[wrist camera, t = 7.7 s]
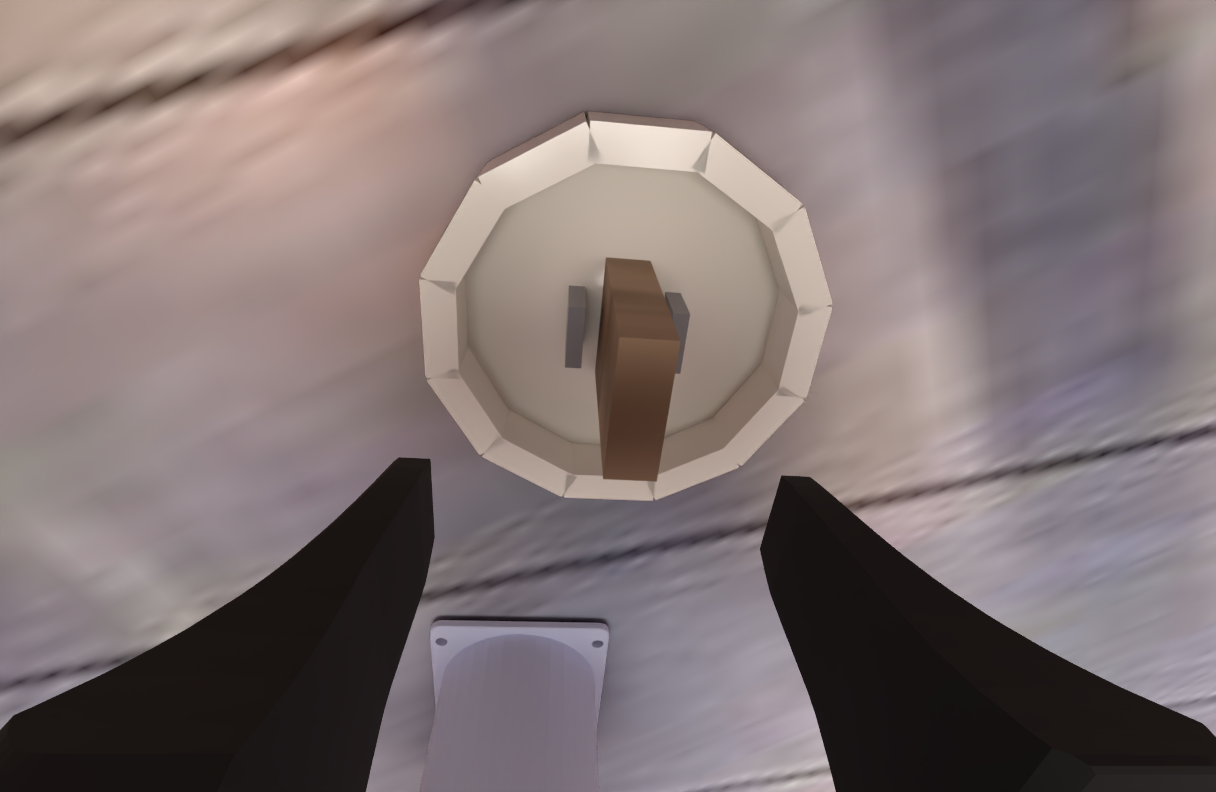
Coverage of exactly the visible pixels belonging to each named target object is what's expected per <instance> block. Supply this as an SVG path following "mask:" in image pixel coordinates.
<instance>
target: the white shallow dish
mask: <svg viewBox="0 0 1216 792" xmlns="http://www.w3.org/2000/svg"><path fill="white" fill-rule="evenodd" d="M606 257H609V258H622V259H635V260H647V261H651V263H652V266H653V269H654V271H655V274H656V277H657V279H658V282H659V285H660V287H661V290H662V293H663V295H664V298H665V301H666V303H667V306H668V309H669V311H670V314H671V317H672V319H673V322H674V325H675V327H676V330H677V333H678V335H679V338H680V341H681V342H680V348H679V354H678V359H677V365H676V371H675V377H674V383H673V389H672V395H671V401H670V407H669V413H668V418H667V424H666V430H665V436H664V442H663V448H662V454H661V460H660V466H659V471H658V477H657V482H655V481H633V480H610V479H603V472H602V459H601V445H600V432H599V419H598V406H597V392H596V379H595V365H596V355H597V345H598V334H599V324H600V314H601V303H602V293H603V283H604V272H605V262H606ZM420 276H421V277H420V279H419V286H420V302H421V317H422V332H423V347H424V363H425V378H428V379H427V382H428V383H429V385H430V386H431V387H432V389H433V390H434V392H435V393H436V395H437V396H438V397H439V399H440V400H441V402H442V403H443V404H444V406H445V407H446V409H447V410H448V411H449V413H450V414H451V416H452V417H453V418H454V420H455V421H456V423H457V424H458V425H459V427H460V428H461V430H462V431H463V432H464V434H465V435H466V437H467V438H468V440H469V441H470V442H471V444H472V445H473V447H474V448H475V449H476V451H477V452H478V454H479V455H481V454H482V457H483V458H485V459H487V460H489V461H491V462H493V463H495V464H497V465H499V466H501V467H503V468H505V469H507V470H509V471H511V472H513V473H515V474H517V475H519V476H521V477H523V478H525V479H527V480H529V481H531V482H533V483H535V484H537V485H539V486H541V487H543V488H544V489H546V490H548V491H550V492H552V493H554V494H556V495H558V496H560V497H561V496H562V495H563V494H564V498H588V499H616V500H644V501H653V496H654V498H655V500H658V499H660V498H663V497H665V496H668V495H670V494H673V493H676V492H678V491H681V490H683V489H686V488H688V487H691V486H693V485H696V484H698V483H701V482H704V481H706V480H709V479H711V478H714V477H716V476H719V475H721V474H724V473H727V472H729V471H732V470H734V469H737V468H739V466H738V464H739V465H741V466H742V465H743V464H744V463H745V462H746V461H747V460H748V459H749V458H750V457H751V456H752V455H753V454H754V453H755V452H756V450H757V449H758V448H759V447H760V446H761V445H762V444H763V443H764V442H765V441H766V440H767V439H768V438H769V437H770V436H771V435H772V434H773V433H774V432H775V431H776V430H777V429H778V428H779V427H780V426H781V425H782V424H783V423H784V422H785V420H786V419H787V418H788V417H789V416H790V415H791V414H792V413H793V412H794V411H795V410H796V409H797V408H798V407H799V406H800V405H801V404H802V403H803V402H804V401H805V400H804V398H803V397H806V398H807V395H808V391H809V388H810V384H811V381H812V377H813V374H814V370H815V367H816V363H817V360H818V356H819V353H820V350H821V346H822V343H823V339H824V336H825V332H826V329H827V325H828V322H829V318H830V315H831V311H832V308H833V307H832V306H831V304H833V303H832V299H831V296H830V292H829V289H828V285H827V282H826V279H825V275H824V272H823V268H822V265H821V261H820V258H819V254H818V251H817V248H816V244H815V241H814V237H813V234H812V230H811V227H810V223H809V220H808V217H807V213H806V210H805V207H804V206H802V203H801V202H800V201H798V200H797V199H796V198H795V197H794V196H792V195H791V194H790V193H789V192H787V191H786V190H785V189H784V188H783V187H781V186H780V185H779V184H778V183H776V182H775V181H774V180H773V179H771V178H770V177H769V176H768V175H767V174H765V173H764V172H763V171H762V170H760V169H759V168H758V167H757V166H755V165H754V164H753V163H752V162H751V161H749V160H748V159H747V158H746V157H744V156H743V155H742V154H741V153H739V152H738V151H737V150H736V149H735V148H733V147H732V146H731V145H730V144H728V143H727V142H726V141H725V140H724V139H722V138H721V137H720V136H719V135H717V134H716V133H715V132H713V131H711V130H710V129H708V128H706V127H704V126H703V125H701V124H699V123H697V122H695V121H687V120H676V119H666V118H655V117H644V116H634V115H623V114H612V113H602V112H591V111H588V115H587V118H586V116H585V113H584V112H583V113H581V114H579V115H577V116H575V117H573V118H571V119H569V120H567V121H565V122H564V123H562V124H560V125H558V126H556V127H554V128H552V129H550V130H548V131H546V132H544V133H542V134H540V135H539V136H537V137H535V138H533V139H531V140H529V141H527V142H525V143H523V144H521V145H519V146H517V147H515V148H513V149H512V150H510V151H508V152H506V153H504V154H502V155H500V156H498V157H496V158H494V159H492V160H490V161H489V162H488V163H487V164H486V165H485V166H484V168H483V169H482V170H481V172H480V173H479V175H478V176H477V177H476V179H475V180H474V182H473V184H472V186H471V187H470V189H469V191H468V193H467V194H466V196H465V198H464V200H463V201H462V203H461V205H460V207H459V208H458V210H457V212H456V214H455V215H454V217H453V219H452V221H451V222H450V224H449V226H448V228H447V229H446V231H445V233H444V235H443V236H442V238H441V240H440V242H439V243H438V245H437V247H436V249H435V250H434V252H433V254H432V256H431V257H430V259H429V261H428V263H427V264H426V266H425V268H424V270H423V271H422V273H421V275H420ZM737 463H738V464H737Z"/></svg>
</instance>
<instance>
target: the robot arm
mask: <svg viewBox="0 0 1216 792" xmlns="http://www.w3.org/2000/svg"><path fill="white" fill-rule="evenodd" d="M434 538H435V536H434V518H433V499H432V481H431V462H430V459H420V458H398V459H397V460H395V461H394V462H393V463H392V464H391V465H390V466H389V467H388V468H387V469H386V470H385V471H384V472H383V473H382V474H381V475H380V476H379V477H378V478H377V479H376V481H375V482H374V483H373V484H372V485H371V486H370V487H369V488H368V489H367V490H366V491H365V492H364V493H363V494H362V495H361V496H360V497H359V498H358V499H357V500H356V501H355V502H354V503H352V504H351V505H350V506H349V507H348V508H347V509H346V510H345V511H344V512H343V513H342V514H341V515H340V516H339V517H338V518H337V519H336V520H335V521H333V522H332V523H331V524H330V525H329V526H328V527H327V528H326V529H325V530H323V531H322V532H321V533H320V534H319V535H318V536H316V537H315V538H314V539H313V540H312V541H311V542H309V543H308V544H307V545H306V546H305V547H304V548H302V549H301V550H300V551H299V552H298V553H297V554H295V555H294V556H293V557H292V558H290V559H289V560H288V561H287V562H285V563H284V564H283V565H282V566H280V567H279V568H278V569H276V570H275V571H274V572H272V573H271V574H270V575H268V576H267V577H266V578H264V579H263V580H262V581H260V582H259V583H257V584H256V585H255V586H253V587H252V588H250V589H249V590H248V591H246V592H245V593H243V594H242V595H240V596H239V597H237V598H235V599H234V600H232V601H231V602H229V603H227V604H226V605H224V606H223V607H221V608H220V609H218V610H216V611H215V612H213V613H212V614H210V615H208V616H207V617H205V618H204V619H202V620H200V621H199V622H197V623H196V624H194V625H192V626H191V627H189V628H188V629H186V630H184V631H182V632H181V633H179V634H177V635H175V636H174V637H172V638H170V639H168V640H166V641H165V642H163V643H161V644H159V645H158V646H156V647H154V648H152V649H150V650H148V651H146V652H145V653H143V654H141V655H139V656H137V657H135V658H133V659H131V660H129V661H128V662H126V663H124V664H122V665H120V666H118V667H116V668H114V669H112V670H110V671H108V672H106V673H104V674H102V675H100V676H98V677H96V678H94V679H92V680H89V681H87V682H85V683H83V684H81V685H79V686H77V687H74V688H72V689H70V690H68V691H66V692H64V693H62V694H59V695H57V696H55V697H53V698H51V699H49V700H47V701H45V702H42V703H40V704H38V705H36V706H34V707H32V708H29V709H27V710H25V711H22V712H20V713H18V714H16V715H14V716H13V717H12V718H11V719H10V720H9V721H8V722H7V723H6V724H5V725H4V727H3V728H2V729H1V730H0V792H366V788H367V783H368V779H369V774H370V769H371V765H372V760H373V756H374V752H375V747H376V743H377V739H378V734H379V730H380V726H381V721H382V717H383V713H384V709H385V705H386V702H387V699H388V695H389V692H390V688H391V685H392V682H393V679H394V676H395V673H396V670H397V667H398V664H399V661H400V658H401V655H402V652H403V649H404V646H405V643H406V640H407V637H408V634H409V631H410V628H411V625H412V622H413V619H414V616H415V613H416V610H417V607H418V604H419V601H420V598H421V595H422V592H423V589H424V586H425V582H426V578H427V573H428V568H429V563H430V558H431V553H432V548H433V543H434ZM760 551H761V556H762V561H763V565H764V570H765V574H766V578H767V582H768V586H769V590H770V594H771V597H772V599H773V602H774V605H775V607H776V610H777V613H778V615H779V618H780V621H781V623H782V626H783V629H784V631H785V634H786V636H787V639H788V642H789V644H790V647H791V649H792V652H793V655H794V657H795V660H796V662H797V665H798V668H799V670H800V673H801V675H802V678H803V681H804V683H805V686H806V688H807V691H808V694H809V697H810V700H811V703H812V706H813V708H814V711H815V714H816V718H817V721H818V725H819V729H820V732H821V736H822V740H823V743H824V747H825V751H826V754H827V758H828V762H829V765H830V769H831V774H832V778H833V782H834V786H835V790H836V792H1216V737H1215V736H1214V735H1213V734H1212V733H1211V731H1210V730H1209V729H1208V728H1207V727H1206V726H1205V725H1203V724H1202V723H1200V722H1198V721H1196V720H1193V719H1191V718H1189V717H1187V716H1184V715H1182V714H1180V713H1178V712H1175V711H1173V710H1171V709H1168V708H1166V707H1164V706H1162V705H1159V704H1157V703H1155V702H1153V701H1150V700H1148V699H1146V698H1143V697H1141V696H1139V695H1137V694H1134V693H1132V692H1130V691H1128V690H1125V689H1123V688H1121V687H1119V686H1117V685H1115V684H1113V683H1111V682H1109V681H1107V680H1105V679H1103V678H1101V677H1099V676H1097V675H1095V674H1093V673H1091V672H1089V671H1087V670H1085V669H1083V668H1081V667H1079V666H1077V665H1075V664H1073V663H1071V662H1069V661H1067V660H1065V659H1063V658H1061V657H1060V656H1058V655H1056V654H1054V653H1052V652H1050V651H1048V650H1046V649H1045V648H1043V647H1041V646H1039V645H1038V644H1036V643H1034V642H1032V641H1031V640H1029V639H1027V638H1025V637H1024V636H1022V635H1020V634H1018V633H1017V632H1015V631H1013V630H1012V629H1010V628H1008V627H1006V626H1005V625H1003V624H1001V623H1000V622H998V621H997V620H995V619H993V618H992V617H990V616H988V615H987V614H985V613H984V612H982V611H981V610H979V609H978V608H976V607H975V606H973V605H972V604H970V603H969V602H967V601H966V600H964V599H963V598H961V597H960V596H958V595H957V594H955V593H954V592H952V591H951V590H949V589H948V588H946V587H945V586H944V585H942V584H941V583H939V582H938V581H937V580H935V579H934V578H932V577H931V576H930V575H928V574H927V573H926V572H925V571H923V570H922V569H921V568H919V567H918V566H917V565H915V564H914V563H913V562H911V561H910V560H909V559H907V558H906V557H905V556H904V555H902V554H901V553H900V552H899V551H897V550H896V549H895V548H894V547H892V546H891V545H890V544H889V543H888V542H886V541H885V540H884V539H883V538H882V537H880V536H879V535H878V534H877V533H876V532H874V531H873V530H872V529H871V528H870V527H868V526H867V525H866V524H865V523H864V522H863V521H861V520H860V519H859V518H858V517H857V516H856V515H854V514H853V513H852V512H851V511H850V510H849V509H848V508H846V507H845V506H844V505H843V504H842V503H841V502H840V501H838V500H837V499H836V498H835V497H834V496H833V495H831V494H830V493H829V492H828V491H827V490H825V489H824V488H823V487H822V486H821V485H819V484H818V483H817V482H816V481H814V480H813V479H812V478H810V477H801V476H781V479H780V482H779V486H778V489H777V493H776V496H775V499H774V503H773V506H772V510H771V513H770V516H769V520H768V523H767V527H766V530H765V533H764V537H763V540H762V544H761V547H760ZM596 640H598V641H596ZM608 642H609V628H608V626H607V625H605V624H603V623H584V622H525V621H466V620H439V621H436V622H434V623H433V624H432V625H431V629H430V645H431V657H432V669H433V682H434V694H435V707H436V712H435V717H434V722H433V727H432V732H431V737H430V742H429V747H428V752H427V757H426V762H425V767H424V772H423V777H422V782H421V787H420V792H599V783H598V757H597V724H598V716H599V709H600V702H601V694H602V687H603V679H604V672H605V665H606V657H607V650H608Z"/></svg>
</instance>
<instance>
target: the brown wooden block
mask: <svg viewBox="0 0 1216 792" xmlns="http://www.w3.org/2000/svg"><path fill="white" fill-rule="evenodd" d="M680 342H681V341H680V338H679V335H678V333H677V330H676V327H675V325H674V322H673V319H672V317H671V314H670V311H669V309H668V306H667V303H666V301H665V298H664V295H663V293H662V290H661V287H660V285H659V282H658V279H657V277H656V274H655V271H654V269H653V266H652V263H651V261H647V260H635V259H622V258H609V257H606V262H605V272H604V283H603V293H602V303H601V314H600V324H599V334H598V345H597V355H596V365H595V379H596V392H597V406H598V419H599V432H600V445H601V459H602V472H603V479H610V480H633V481H655V482H657V477H658V471H659V466H660V460H661V454H662V448H663V442H664V436H665V430H666V424H667V418H668V413H669V407H670V401H671V395H672V389H673V383H674V377H675V371H676V365H677V359H678V354H679V348H680Z"/></svg>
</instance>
